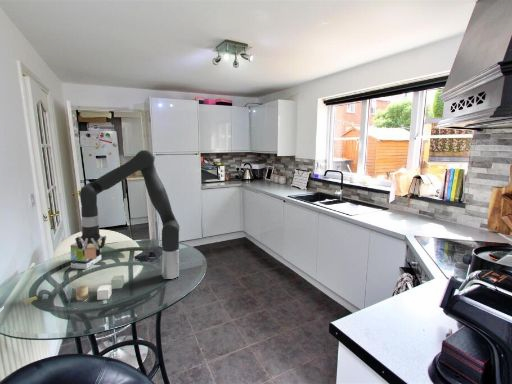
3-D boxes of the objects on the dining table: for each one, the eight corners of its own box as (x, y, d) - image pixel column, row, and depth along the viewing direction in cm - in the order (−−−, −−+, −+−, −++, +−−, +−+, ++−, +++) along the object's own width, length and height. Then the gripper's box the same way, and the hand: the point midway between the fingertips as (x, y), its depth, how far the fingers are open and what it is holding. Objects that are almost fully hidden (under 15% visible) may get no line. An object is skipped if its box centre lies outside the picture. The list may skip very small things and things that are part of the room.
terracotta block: (99, 254, 142) (98, 245, 141) (95, 258, 137) (95, 249, 136) (88, 255, 141) (88, 246, 140) (84, 259, 136) (84, 249, 135)
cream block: (111, 293, 137) (111, 284, 136) (108, 299, 132) (108, 289, 132) (100, 294, 136) (100, 285, 135) (97, 299, 131) (97, 290, 131)
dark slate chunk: (169, 251, 196) (169, 245, 195) (151, 263, 175) (151, 256, 174) (150, 248, 199) (150, 242, 198) (130, 260, 178) (130, 253, 177)
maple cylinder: (90, 294, 135) (89, 285, 134) (86, 300, 130) (85, 291, 129) (78, 295, 134) (78, 286, 133) (74, 301, 129) (73, 291, 128)
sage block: (124, 283, 148) (123, 275, 147) (121, 288, 143) (121, 279, 142) (114, 284, 147) (114, 275, 146) (111, 288, 142) (111, 280, 141)
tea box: (87, 269, 160) (86, 246, 158) (70, 268, 161) (69, 245, 158) (102, 259, 175) (101, 237, 173) (86, 258, 175) (85, 236, 173)
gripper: (108, 222, 141) (109, 252, 144) (77, 222, 138) (79, 253, 141) (103, 226, 134) (104, 258, 137) (71, 226, 131) (73, 259, 134)
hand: (91, 255), depth 139 cm, fingers closed on terracotta block, 5 cm apart
